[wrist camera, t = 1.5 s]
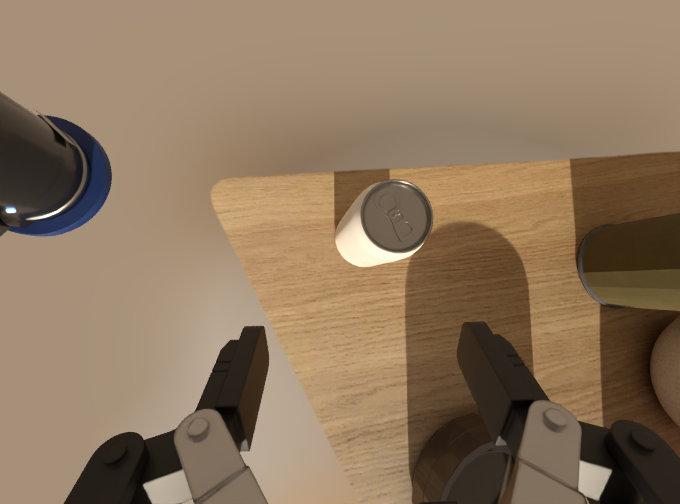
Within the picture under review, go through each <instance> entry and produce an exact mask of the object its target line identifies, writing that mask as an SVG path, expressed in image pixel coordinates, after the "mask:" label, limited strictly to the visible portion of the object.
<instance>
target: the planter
mask: <svg viewBox="0 0 680 504" xmlns="http://www.w3.org/2000/svg"><path fill="white" fill-rule="evenodd" d="M650 374H651V380H652V384H653V387H654V390H655V393H656V395H657V397H658V399H659V401H660V403H661V405H662V406H663V408H664V410H665V411H666V412H667V414H668V415H669V416H670V418H671V419H672V420H673V421H674V422H675V423H676V424H677V425H678V426H679V427H680V317H679V318H677V319H676V320H674V321H673V322H672V323H670V324H669V325H668V326H667V327H666V328H665V329H664V330H663V332H662V333H661V334H660V336H659V337H658V339H657V340H656V342H655V344H654V347H653V350H652V353H651V359H650Z"/></svg>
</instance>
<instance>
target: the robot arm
mask: <svg viewBox="0 0 680 504" xmlns="http://www.w3.org/2000/svg"><path fill="white" fill-rule="evenodd" d="M36 112H37V111H36ZM38 113H39V112H38ZM39 114H40V115H41V116H42V117H43V118H44V119H45V120H46V121H47V122H48V123H47V122H46V121H44V120H43V119H41V118H40V117H38V116H37V115H35V114H34V113H32V112H31V111H29V110H28V109H26V108H24V107H23V106H21V105H20V104H18V103H17V102H15V101H14V100H12V99H11V98H9V97H8V96H6V95H4V94H3V93H1V92H0V236H1V235H3V233H5V232H6V231H7V230H8V229H9V228H10V227H9V226H8V225H10V226H14V227H19V228H27V227H28V226H29V225H30V224H32V223H33V222H35V221H45V220H50V219H54V218H57V217H59V216H61V215H63V214H65V213H67V212H69V211H70V210H71V209H73V208H74V207H75V206H76V205H77V204H78V203H79V202H80V201H81V200H82V198H83V197H84V195H85V194H86V192H87V190H88V187H89V184H90V180H91V165H90V161H89V158H88V156H87V154H86V152H85V150H84V149H83V147H82V146H81V145H80V144H79V143H78V142H77V141H76V140H75V139H73V138H72V137H71V136H69V135H68V134H66V133H65V132H63V131H61V130H60V129H58V128H57V127H56V126H55V125H54V124H53V123H52V122H51V121H50V120H49V119H48V118H47V117H45V116H44V115H42V114H41V113H39ZM457 359H458V364H459V366H460V369H461V371H462V373H463V375H464V378H465V380H466V382H467V384H468V387H469V389H470V391H471V393H472V395H473V398H474V400H475V402H476V404H477V407H478V409H479V411H480V413H481V416H482V418H483V420H484V422H485V424H486V427H487V429H488V431H489V433H490V436H491V438H492V440H493V442H494V445H507V446H508V448H509V451H510V456H509V459H508V463H507V467H506V471H505V475H504V479H503V483H502V487H501V491H500V495H499V499H498V503H497V504H585V497H586V498H587V499H588V501H589V503H590V504H680V458H679V457H678V456H677V455H676V453H675V452H674V451H673V450H672V449H671V448H670V446H669V445H668V444H667V443H666V442H665V441H664V440H663V439H662V438H661V437H660V436H659V435H657V434H656V433H655V432H653V431H652V430H650V429H649V428H647V427H645V426H643V425H641V424H639V423H636V422H633V421H629V420H619V421H616V422H614V423H613V424H612V426H611V428H610V429H607V428H603V427H599V426H596V425H592V424H588V423H584V422H581V421H578V420H577V419H576V418H575V417H574V415H573V414H572V413H570V412H569V411H568V410H567V409H565V408H564V407H562V406H561V405H559V404H557V403H554V402H551V401H550V400H549V399H548V397H547V396H546V394H545V393H544V391H543V390H542V388H541V387H540V385H539V384H538V383H537V381H536V380H535V378H534V377H533V375H532V374H531V372H530V371H529V369H528V368H527V366H525V364H524V362H523V361H522V359H521V358H520V357H519V356H518V353H517V352H516V350H515V349H514V347H513V346H512V345H511V343H509V342H508V341H507V340H506V339H504V338H503V337H502V336H501V335H499V334H493V333H492V331H491V330H490V328H489V327H488V325H487V324H486V323H485V322H483V321H482V322H464V323H463V325H462V330H461V334H460V339H459V343H458V348H457ZM268 366H269V352H268V346H267V340H266V334H265V328H264V326H245V327H244V328H243V330H242V333H241V336H240V338H239V340H230V341H229V342H228V343H227V344H226V345H225V346H224V347H223V348H222V349H221V351H220V354H219V356H218V358H217V361H216V364H215V365H214V368H213V370H212V373H211V375H210V377H209V380H208V382H207V384H206V387H205V389H204V391H203V394H202V396H201V399H200V401H199V403H198V406H197V408H196V410H195V412H194V413H192V414H190V415H189V416H187V417H186V418H185V419H184V420H183V421H182V422H181V423H180V424H179V426H178V427H177V428H176V429H175V430H173V431H170V432H167V433H164V434H161V435H158V436H155V437H152V438H149V439H146V440H143V438H142V436H141V435H139V434H138V433H135V432H126V433H122V434H119V435H116V436H114V437H112V438H111V439H109V440H107V441H106V442H105V443H104V444H102V445H101V446H100V447H99V448H98V449H97V450H96V451H95V453H94V454H93V455H92V457H91V458H90V460H89V462H88V463H87V465H86V467H85V468H84V470H83V472H82V473H81V475H80V477H79V479H78V480H77V482H76V484H75V485H74V487H73V489H72V491H71V492H70V494H69V496H68V497H67V499H66V501H65V502H64V504H182V503H184V502H187V501H189V500H192V499H193V502H194V504H268V502H267V500H266V498H265V497H264V495H263V493H262V491H261V489H260V487H259V485H258V483H257V481H256V479H255V477H254V475H253V473H252V471H251V469H250V468H249V466H246V464H245V463H244V461H243V459H242V457H241V455H240V451H250V446H251V443H252V438H253V434H254V430H255V425H256V421H257V416H258V412H259V407H260V403H261V398H262V394H263V390H264V385H265V381H266V376H267V372H268ZM584 496H585V497H584ZM418 504H458V503H457V501H439V502H421V503H418Z"/></svg>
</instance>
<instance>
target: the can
mask: <svg viewBox="0 0 680 504" xmlns="http://www.w3.org/2000/svg"><path fill="white" fill-rule="evenodd" d="M432 225H433V211H432V207H431V204H430V202H429V200H428V198H427V197H426V195H425V194H424V193H423V192H422V191H421V190H420V189H419V188H418V187H417V186H415V185H414V184H412V183H410V182H407V181H404V180H398V179H393V180H386V181H382V182H378V183H375V184H373V185H371V186H369V187H368V188H366V189H365V190H364V191H363V192H362V193H361V194H360V195H359V196H358V197H357V198H356V200H355V201H354V202H353V204H352V205H351V206H350V208H349V209H348V211H347V212H346V213H345V215H344V216H343V218H342V219H341V220H340V222H339V224H338V226H337V229H336V233H335V241H336V246H337V249H338V251H339V253H340V254H341V255H342V257H343V258H344V259H345V260H347V261H348V262H349V263H351V264H353V265H356V266H361V267H369V266H375V265H380V264H384V263H389V262H393V261H397V260H401V259H404V258H406V257H408V256H410V255H412V254H414V253H415V252H416V251H417V250H418V249H419V248H420V247H421V246H422V245H423V243H424V242H425V240H426V239H427V238H428V236H429V234H430V232H431V229H432Z"/></svg>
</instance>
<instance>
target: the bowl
mask: <svg viewBox="0 0 680 504" xmlns="http://www.w3.org/2000/svg"><path fill="white" fill-rule="evenodd" d="M509 456H510V451H509V448H508V446H507V445H494V442H493V440H492V438H491V436H490V433H489V431H488V429H487V427H486V424H485V422H484V420H483V418H482V416H481V414H470V415H467V416H464V417H461V418H457V419H454V420H452V421H451V422H449V423H448V424H447V425H445V426H444V427H443V428H441V429H440V430H439V431H437V432H436V433H435V434H434V436H433V437H432V438H431V440H430V441H429V443H428V444H427V445H426V447H425V448H424V450H423V451H422V453H421V455H420V458H419V461H418V464H417V467H416V470H415V473H414V476H413V494H412V503H413V504H418V503H421V502H439V501H457V503H458V504H497V503H498V499H499V495H500V491H501V487H502V483H503V479H504V475H505V471H506V467H507V463H508V459H509ZM584 497H585V496H584ZM585 504H587V502H586V498H585Z"/></svg>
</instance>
